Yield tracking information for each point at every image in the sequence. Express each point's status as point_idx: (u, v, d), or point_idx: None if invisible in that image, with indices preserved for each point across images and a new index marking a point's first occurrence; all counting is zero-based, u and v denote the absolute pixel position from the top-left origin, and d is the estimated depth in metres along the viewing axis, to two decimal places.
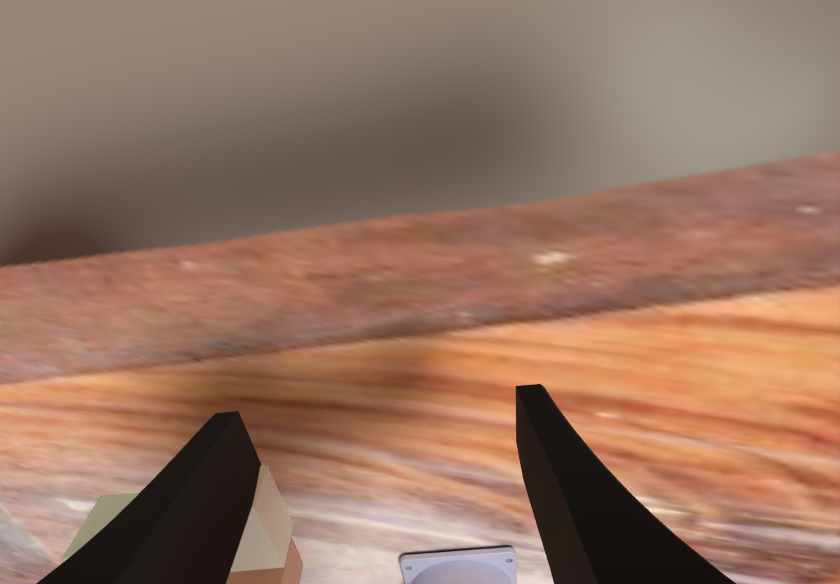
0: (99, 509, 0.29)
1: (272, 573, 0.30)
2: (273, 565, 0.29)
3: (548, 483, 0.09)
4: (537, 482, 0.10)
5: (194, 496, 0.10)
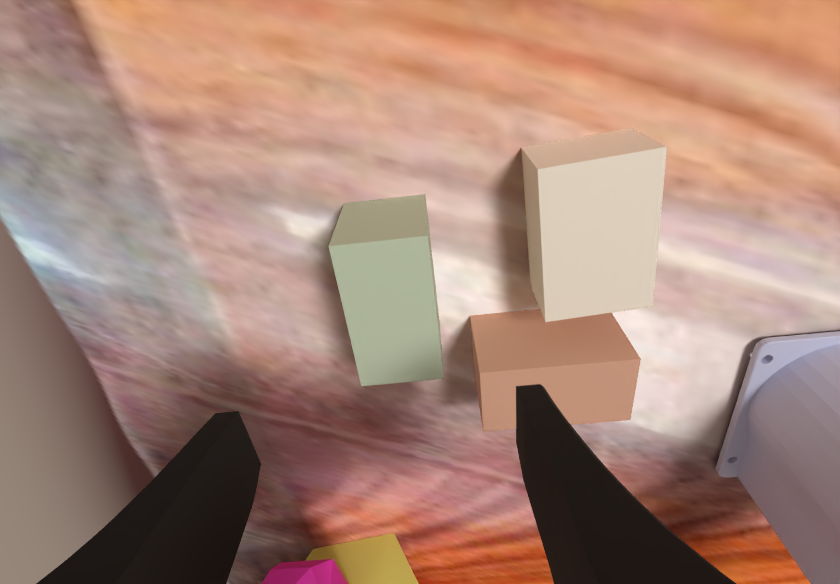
0: (352, 210, 0.18)
1: (606, 335, 0.19)
2: (636, 302, 0.18)
3: (548, 483, 0.09)
4: (537, 482, 0.10)
5: (194, 496, 0.10)
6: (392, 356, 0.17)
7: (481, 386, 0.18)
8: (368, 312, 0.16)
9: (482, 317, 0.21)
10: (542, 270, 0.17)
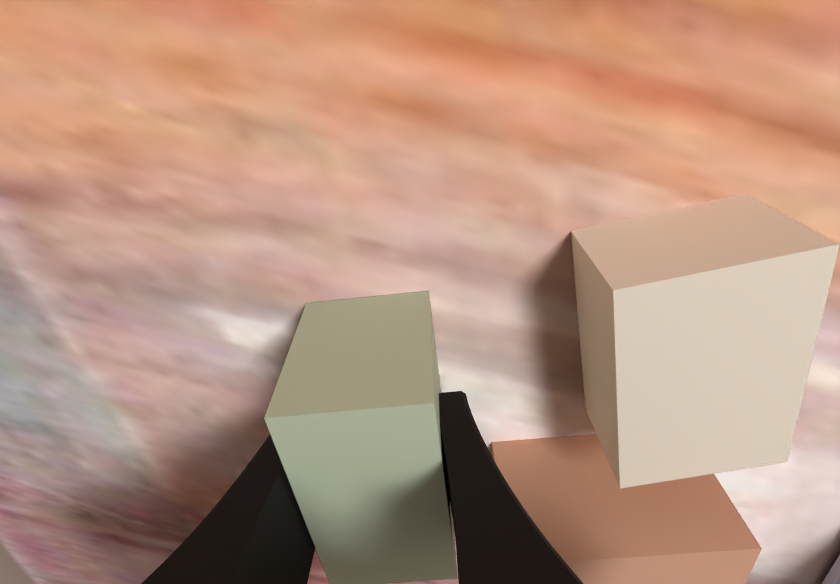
0: (316, 325, 0.11)
1: (697, 493, 0.13)
2: (763, 458, 0.11)
3: (451, 491, 0.09)
4: (449, 489, 0.10)
5: (284, 489, 0.10)
6: (378, 554, 0.11)
7: None
8: (337, 502, 0.10)
9: (509, 446, 0.15)
10: (616, 424, 0.11)
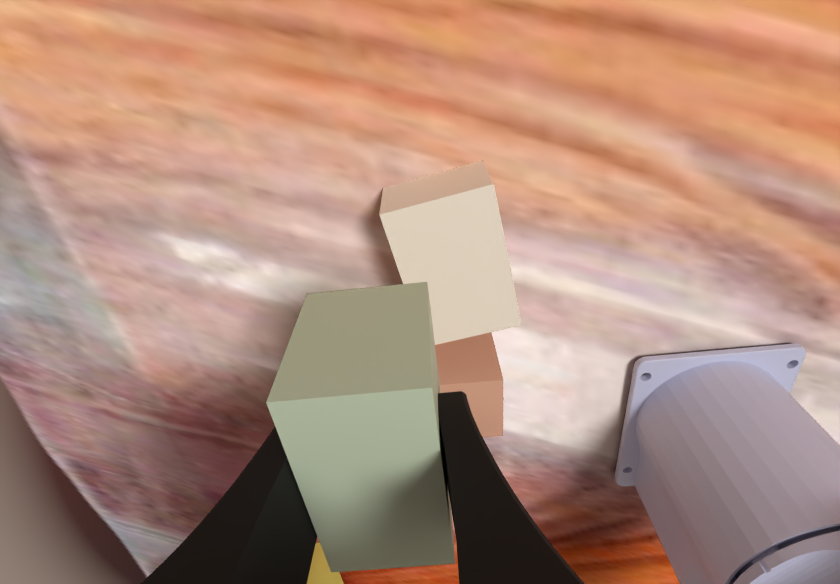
0: (316, 314, 0.12)
1: (479, 356, 0.20)
2: (506, 322, 0.19)
3: (451, 491, 0.09)
4: (449, 489, 0.10)
5: (284, 489, 0.10)
6: (377, 538, 0.11)
7: None
8: (337, 486, 0.10)
9: None
10: None
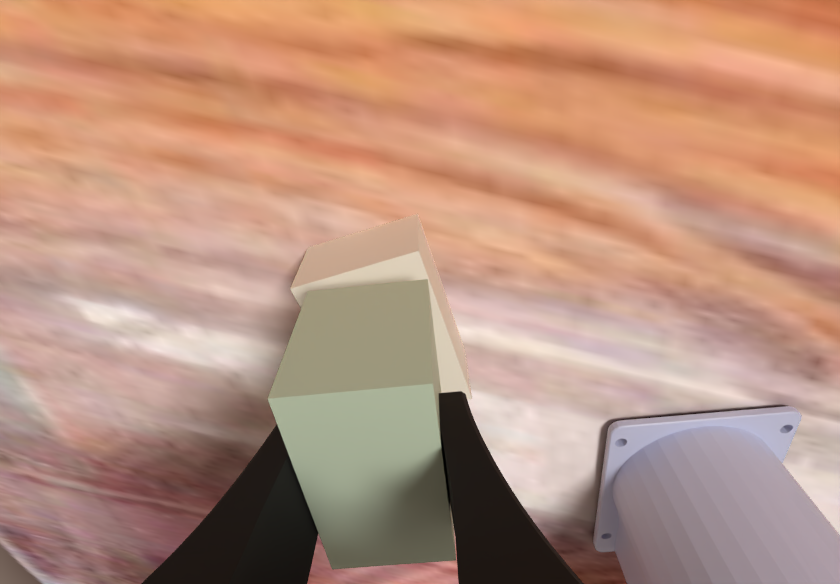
0: (317, 311, 0.12)
1: None
2: None
3: (450, 491, 0.09)
4: (449, 489, 0.10)
5: (284, 489, 0.10)
6: (378, 535, 0.11)
7: None
8: (338, 483, 0.10)
9: None
10: None
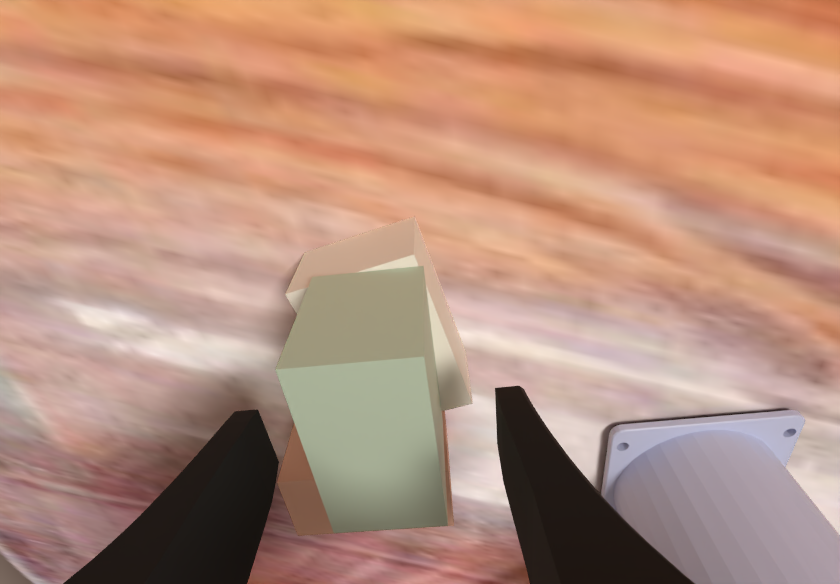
0: (321, 294, 0.13)
1: None
2: (453, 401, 0.16)
3: (522, 485, 0.09)
4: (514, 484, 0.10)
5: (217, 494, 0.10)
6: (376, 501, 0.12)
7: (282, 494, 0.17)
8: (339, 449, 0.11)
9: None
10: None
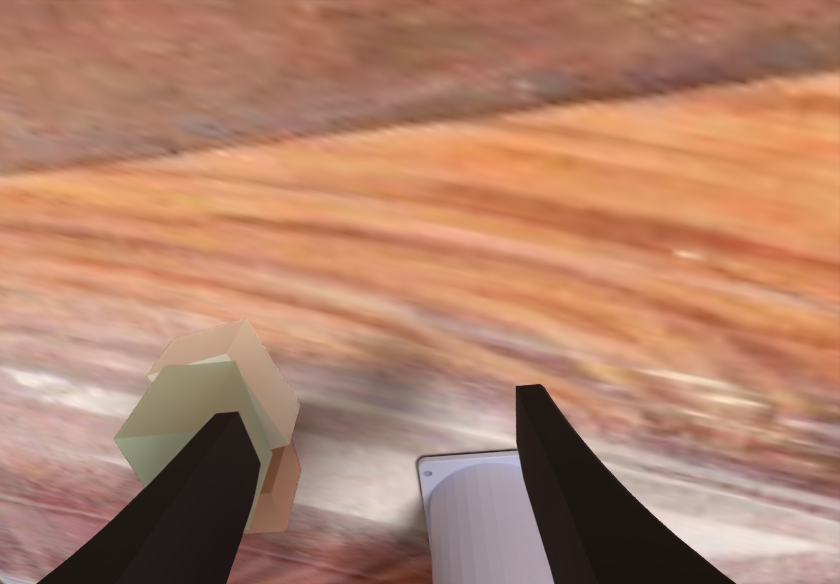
0: (162, 382, 0.20)
1: None
2: (275, 443, 0.23)
3: (548, 483, 0.09)
4: (537, 482, 0.10)
5: (194, 496, 0.10)
6: None
7: None
8: None
9: None
10: None
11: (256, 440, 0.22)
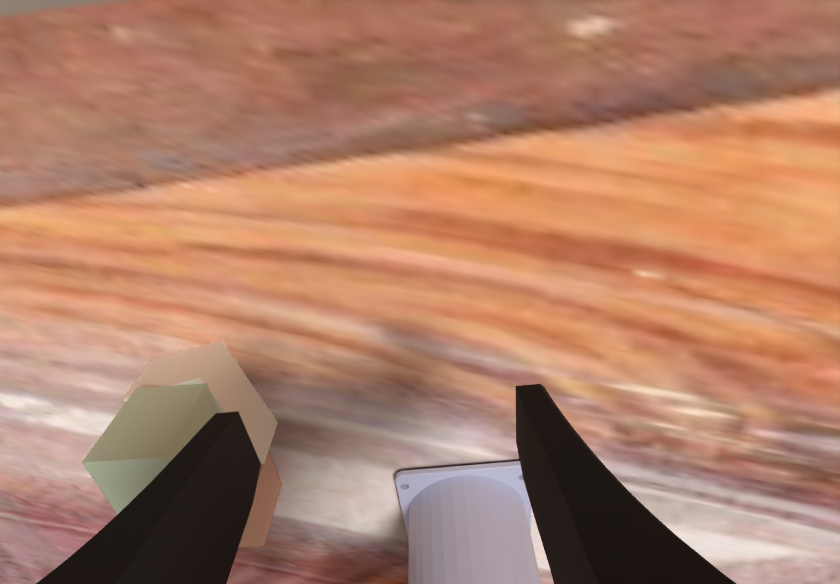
0: (134, 404, 0.20)
1: None
2: None
3: (548, 483, 0.09)
4: (537, 482, 0.10)
5: (194, 496, 0.10)
6: None
7: None
8: None
9: None
10: None
11: None
